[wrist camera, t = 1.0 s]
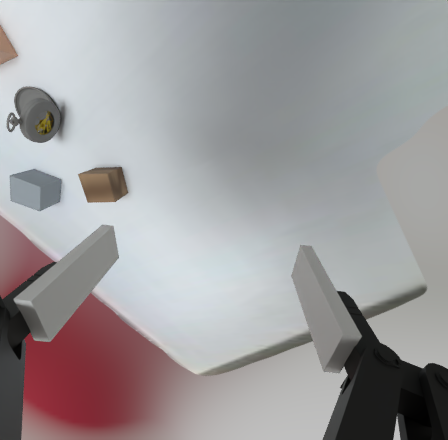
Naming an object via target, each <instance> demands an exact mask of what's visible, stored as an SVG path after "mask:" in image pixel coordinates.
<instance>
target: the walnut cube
mask: <svg viewBox="0 0 448 440" xmlns="http://www.w3.org/2000/svg"><path fill="white" fill-rule="evenodd" d="M78 175H79V178H80V181H81V184H82V187H83V190H84V193H85V196H86V199H87V202H116V201H117V200H119V199H120V198H122V197H123V196H124V195H126V194H127V193H128V191H127V187H126V183H125V179H124V175H123V171H122V167H110V168H94V169H91V170H89V171H86V172H83V173H80V174H78Z"/></svg>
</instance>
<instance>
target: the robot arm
mask: <svg viewBox="0 0 448 440" xmlns="http://www.w3.org/2000/svg"><path fill="white" fill-rule="evenodd" d="M118 258H119V255H118V250H117V244H116V238H115V232H114V226H110V225H102V226H100V227H99V228H98V229H97V230H96V231H94V232H93V233H92V234H91V235H90V236H88V237H87V238H86V239H85V240H84V241H82V242H81V243H80V244H79V245H78V246H76V247H75V248H74V249H73V250H72V251H70V252H69V253H68V254H67V255H66V256H64V257H63V258H62V259H61V260H60V261H58V262H53V263H51V264H49V265H47V266H45V267H43V268H41V269H40V270H39V271H38V272H36V273H35V274H34V276H31V277H30V278H29V279H28V280H27V281H25V282H24V283H23V284H21V285H20V286H19V287H18V288H16V289H15V290H14V291H13V292H11V293H10V294H9V295H8V296H6V297H5V298H4V299H2V298H1V297H0V440H21V431H22V411H23V390H24V370H25V351H26V343H25V340H24V338H25V337H26V336H27V335H28V334H29V333H31V335H32V337H33V339H34V340H37V341H46V342H51V340H52V339H53V338H54V337H55V335H56V334H57V333H58V332H59V330H60V329H61V328H62V327H63V326H64V324H65V323H66V322H67V321H68V319H69V318H70V317H71V316H72V314H73V313H74V312H75V311H76V310H77V308H78V307H79V306H80V304H81V303H82V302H83V301H84V300H85V298H86V297H87V296H88V295H89V293H90V292H91V291H92V290H93V289H94V288H95V286H96V285H97V284H98V283H99V281H100V280H101V279H102V278H103V276H104V275H105V274H106V273H107V272H108V270H109V269H110V268H111V267H112V265H113V264H114V263H115V262H116V261H117V259H118ZM291 276H292V279H293V282H294V285H295V288H296V291H297V294H298V297H299V300H300V303H301V306H302V309H303V312H304V315H305V318H306V321H307V324H308V327H309V330H310V333H311V336H312V339H313V342H314V345H315V348H316V350H317V354H318V356H319V360H320V363H321V365H322V369H323V371H324V372H333V373H340V372H341V370H342V368H343V367H345V369H346V372H347V374H348V376H347V377H346V379H345V380H344V382H343V384H342V385H341V387H340V388H342V390H341V392H340V395H339V398H338V401H337V403H336V406H335V408H334V411H333V414H332V416H331V419H330V422H329V424H328V427H327V430H326V432H325V435H324V437H323V440H393V437H394V431H395V424H396V417H398V424H399V431H400V438H401V440H448V369H447V368H445V367H443V366H440V365H437V364H435V363H430V364H428V365H426V366H425V367H424V368H420V367H417V366H415V365H412V364H410V363H407V362H405V361H402V360H401V359H400V358H399V356H398V355H397V354H396V353H395V352H394V351H393V350H391V349H390V348H389V347H387V346H386V345H383V344H381V343H380V342H379V340H378V339H377V337H376V336H375V334H374V332H373V331H372V329H371V328H370V326H369V325H368V323H367V321H366V319H365V318H364V316H362V313H361V311H360V310H359V309H358V307H357V305H356V303H355V302H354V300H353V299H352V298H351V297H350V296H349V295H348V294H347V293H346V292H341V291H336V289H335V287H334V286H333V284H332V282H331V280H330V278H329V277H328V275H327V273H326V271H325V269H324V268H323V266H322V264H321V262H320V261H319V259H318V257H317V255H316V253H315V252H314V250H313V248H312V246H304V245H300V248H299V252H298V255H297V258H296V262H295V265H294V268H293V272H292V275H291Z"/></svg>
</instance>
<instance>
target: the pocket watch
mask: <svg viewBox="0 0 448 440" xmlns="http://www.w3.org/2000/svg"><path fill="white" fill-rule="evenodd" d="M14 103H15V108H16V111H17V113H18V115H19V117H20V119H17V118H16V117H15V114H14V113H10V114H9V115H8V118H7V129H8V131H9V132H12V131H13V130H14V128H15V126H17V125H18V123H19V124H20V129H21V132H22V133H23V135H24V136H25V137H26V138H27V139H29V140H31V141H33V142H38V143H43V142H47V141H49V140H50V139H51V138H53V137H54V135H55V134H56V132H57V130H58V128H59V125H60V113H59V111H58V108H57V107H56V106H55V104H54V103H53V101H52V100H51V98H50V97H49V96H48V95H47V94H46V93H44V92H43V91H41V90H39V89H37V88H33V87H22V88H21V89H19V90H18V91H17V93H16V94H15V99H14ZM11 115H13V117H12V119H11V120H9V119H10V117H11ZM9 122H10V123H11V124H12V125H13V127H12V129H11V130H10V128H9ZM38 131H39V132H38Z"/></svg>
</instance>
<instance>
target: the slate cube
mask: <svg viewBox="0 0 448 440" xmlns="http://www.w3.org/2000/svg"><path fill="white" fill-rule="evenodd" d="M60 192H61V179H59V178H57V177H54V176H51V175H49V174H46V173H44V172H41V171H38V170H36V169H33V170H29V171H25V172H21V173H17V174H13V175H10V195H11V201H12V202H15V203H18V204H21V205H24V206H26V207H29V208H32V209H35V210H38V211H41V210H43V209H46V208H48V207H50V206H52V205H54V204H56V203H58V202H60Z"/></svg>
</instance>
